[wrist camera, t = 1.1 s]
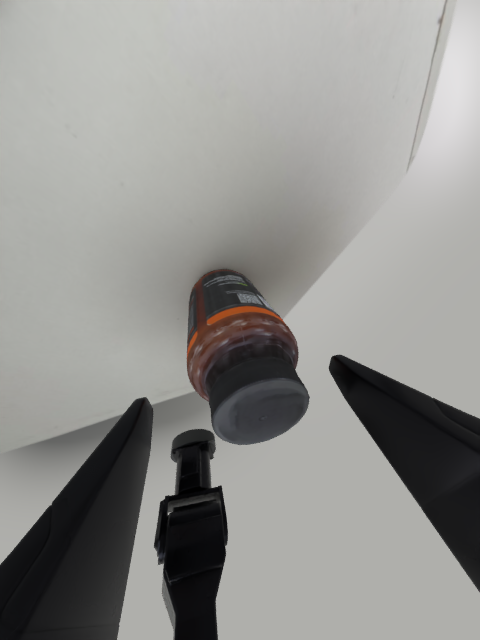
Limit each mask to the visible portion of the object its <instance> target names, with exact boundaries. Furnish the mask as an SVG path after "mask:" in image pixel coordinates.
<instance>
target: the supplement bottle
mask: <svg viewBox="0 0 480 640" xmlns="http://www.w3.org/2000/svg"><path fill="white" fill-rule="evenodd" d="M297 361H298V347H297V341H296V339H295V337H294V335H293V334H292V332H291V331H290V329H289V327H288V326H286V324H285V323H284V322H283V320H282V319H281V318H280V316H279V315H278V314H277V313H276V312H275V311H274V309H273V308H272V307H271V306H270V305H269V303H268V302H267V301H266V300H265V299H264V298H263V296H262V295H261V294H260V293H259V292H258V290H257V289H256V288H255V287H254V286H253V284H252V283H251V282H250V281H249V280H248V279H247V278H246V277H245V276H243V275H242V274H240V273H238V272H236V271H233V270H215V271H212V272H210V273H208V274H206V275H204V276H203V277H202V278H201V279H199V280H198V282H197V283H196V284H195V285H194V287H193V289H192V292H191V295H190V301H189V318H188V341H187V371H188V376H189V379H190V383H191V384H192V386H193V388H194V389H195V391H196V392H198V394H199V395H200V396H201V397H202V398H204V399H205V400H207V401H209V405H210V408H211V419H212V420H211V421H212V426H213V430H214V432H215V433H216V435H217V436H218V437H220V438H221V439H222V440H224V441H227V442H229V443H233V444H238V445H248V444H254V443H260V442H264V441H267V440H270V439H272V438H274V437H277V436H279V435H281V434H283V433H284V432H286V431H288V430H289V429H290V428H291V427H293V426H294V425H295V424H297V423H298V421H300V419H301V418H302V417H303V415H304V414H305V413H306V410H307V408H308V404H309V398H310V397H309V395H308V391H307V389H306V388H305V386H304V384H303V383H302V381H301V380H300V378H299V377H298V375H297V373H296V371H295V369H296V366H297Z"/></svg>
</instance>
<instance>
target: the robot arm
mask: <svg viewBox="0 0 480 640" xmlns="http://www.w3.org/2000/svg"><path fill="white" fill-rule="evenodd" d="M329 371H330V373H331V375H332V377H333V378H334V380H335V382H336V384H337V386H338V387H339V389H340V391H341V393H342V394H343V396H344V398H345V399H346V401H347V402H348V404H349V405H350V406H351V408H352V410H353V411H354V412H355V414H356V415H357V417H358V418H359V420H360V421H361V423H362V424H363V425H364V427H365V428H366V430H367V431H368V433H369V434H370V435H371V437H372V438H373V440H374V441H375V443H376V444H377V445H378V447H379V448H380V450H381V451H382V453H383V454H384V456H385V457H386V458H387V460H388V461H389V463H390V464H391V466H392V467H393V468H394V470H395V471H396V473H397V474H398V476H399V477H400V478H401V480H402V481H403V483H404V484H405V486H406V487H407V489H408V490H409V491H410V493H411V494H412V495H413V497H414V498H415V500H416V501H417V503H418V504H419V506H420V507H421V508H422V510H423V512H424V513H425V514H426V516H427V517H428V519H429V520H430V522H431V523H432V525H433V526H434V527H435V529H436V530H437V532H438V533H439V535H440V536H441V538H442V539H443V540H444V542H445V543H446V545H447V546H448V548H449V549H450V550H451V552H452V553H453V555H454V556H455V558H456V559H457V560H458V562H459V563H460V565H461V566H462V568H463V569H464V570H465V572H466V573H467V575H468V576H469V577H470V579H471V580H472V582H473V583H474V585H475V586H476V587H477V589H478V591H479V592H480V419H479V418H477V417H474V416H472V415H469V414H467V413H465V412H463V411H461V410H458V409H456V408H454V407H452V406H450V405H447V404H445V403H443V402H441V401H439V400H437V399H435V398H431V397H430V396H428V395H426V394H424V393H421V392H419V391H417V390H415V389H413V388H410V387H409V386H406V385H404V384H402V383H400V382H398V381H396V380H394V379H392V378H389V377H387V376H385V375H383V374H381V373H379V372H377V371H375V370H372V369H370V368H368V367H366V366H364V365H361V364H360V363H357V362H355V361H353V360H351V359H349V358H347V357H345V356H342V355H336V356H332V358H331V361H330V365H329ZM152 423H153V408H152V406H151V404H150V402H149V400H148V399H147V398H146V397H143V398H139V399H136V400H135V401H134V402H133V403H132V404H131V406H130V407H129V408H128V409H127V411H126V412H125V413H124V414H123V416H122V417H121V418H120V419H119V421H118V422H117V423H116V424H115V426H114V427H113V428H112V429H111V430H110V432H109V433H108V434H107V435H106V437H105V438H104V439H103V440H102V442H101V443H100V444H99V445H98V447H97V448H96V449H95V450H94V452H93V453H92V454H91V455H90V456H89V458H88V459H87V460H86V461H85V463H84V464H83V465H82V466H81V468H80V469H79V470H78V471H77V473H76V474H75V475H74V476H73V477H72V479H71V480H70V481H69V482H68V484H67V485H66V486H65V487H64V489H63V490H62V491H61V492H60V494H59V495H58V496H57V497H56V498H55V500H54V501H53V502H52V505H51V506H49V507H48V508H47V509H46V511H45V512H44V513H43V515H42V516H41V517H40V518H39V519H38V521H37V522H36V523H35V524H34V525H33V527H32V528H31V529H30V530H29V531H28V533H27V534H26V535H25V536H24V537H23V539H22V540H21V541H20V542H19V544H18V545H17V546H16V547H15V548H14V550H13V551H12V552H11V553H10V554H9V555H8V556H7V558H6V559H5V560H4V561H3V562H2V563H1V565H0V640H117V635H118V630H119V622H120V618H121V612H122V606H123V601H124V596H125V590H126V585H127V579H128V573H129V567H130V562H131V557H132V551H133V545H134V540H135V534H136V529H137V523H138V518H139V512H140V506H141V501H142V495H143V490H144V484H145V478H146V473H147V467H148V462H149V456H150V449H151V437H152ZM172 455H173V457H174V458H175V460H176V462H177V472H176V485H175V495H172V496H169V495H168V496H165V499H164V500H163V501H161V502H160V509H159V516H158V523H157V530H156V536H155V543H154V548H155V549H156V551H157V556H159V558H158V565H160V564H164V569H163V584H162V594H163V595H162V596H163V599H164V602H165V605H166V608H167V611H168V614H169V617H170V620H171V623H172V626H173V629H174V637H173V640H218V635H217V620H216V602H215V601H216V596H217V592H218V588H219V583H220V579H221V575H222V570H223V566H224V562H225V556H226V549H225V546H226V545H227V541H228V529H227V518H226V511H225V505H224V498H223V492H222V486H218V487H215V488H211V473H210V459H213V458H214V457H213V452H212V449H211V446H210V443H209V441H207V440H206V441H202V442H199V443H195V444H191V445H187V446H183V447H179V448H176V449H173V450H172ZM168 512H171V513H170V514H169V515H168Z"/></svg>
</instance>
